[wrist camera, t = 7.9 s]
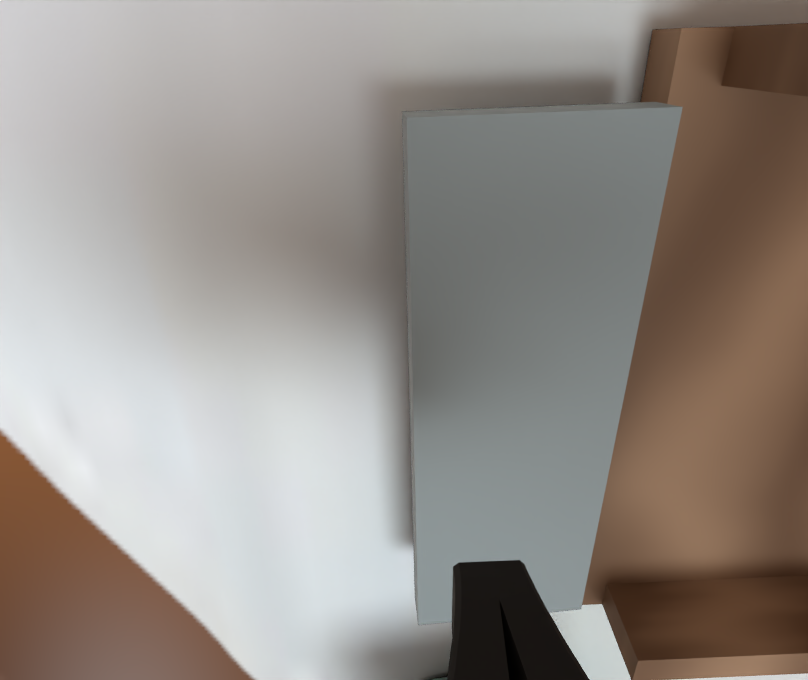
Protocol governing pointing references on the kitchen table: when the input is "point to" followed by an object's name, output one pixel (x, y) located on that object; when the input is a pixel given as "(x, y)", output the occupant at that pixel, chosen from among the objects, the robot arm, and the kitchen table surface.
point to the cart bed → (718, 375)
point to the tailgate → (523, 328)
